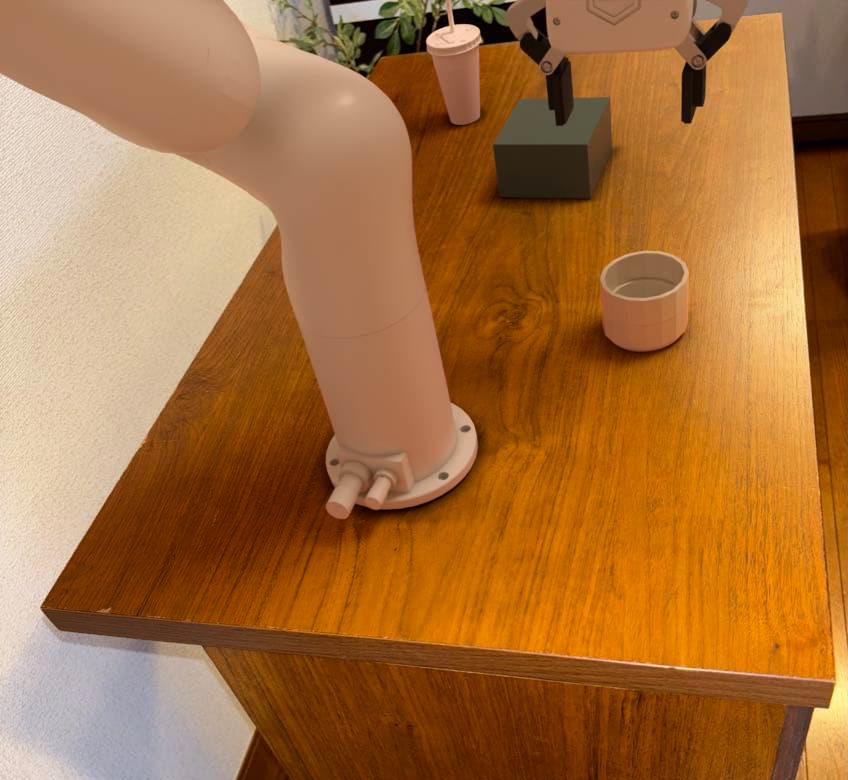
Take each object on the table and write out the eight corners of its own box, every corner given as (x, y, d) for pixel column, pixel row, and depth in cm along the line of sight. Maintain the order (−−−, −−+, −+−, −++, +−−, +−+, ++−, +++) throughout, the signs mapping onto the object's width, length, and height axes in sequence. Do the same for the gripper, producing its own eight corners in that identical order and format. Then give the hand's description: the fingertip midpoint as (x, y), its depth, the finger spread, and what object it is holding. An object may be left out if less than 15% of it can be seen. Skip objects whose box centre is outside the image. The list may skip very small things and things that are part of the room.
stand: (590, 199, 102) (587, 144, 98) (499, 197, 106) (492, 144, 101) (612, 150, 108) (610, 96, 104) (525, 150, 112) (519, 98, 107)
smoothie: (492, 101, 121) (476, -20, 111) (489, 126, 117) (473, 2, 107) (441, 108, 123) (421, -11, 112) (437, 133, 118) (415, 11, 108)
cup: (678, 357, 83) (679, 302, 79) (595, 350, 86) (591, 297, 82) (694, 306, 87) (695, 252, 83) (613, 301, 90) (611, 249, 86)
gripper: (474, -108, 64) (505, 142, 77) (749, -137, 58) (735, 139, 71) (505, -145, 69) (530, 96, 81) (764, -176, 63) (748, 90, 75)
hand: (625, 116), depth 76 cm, fingers open, 9 cm apart
